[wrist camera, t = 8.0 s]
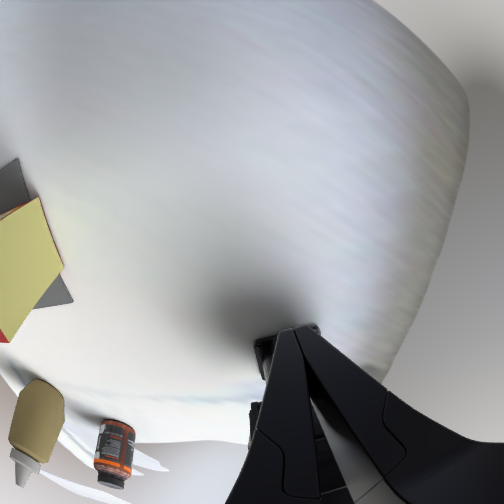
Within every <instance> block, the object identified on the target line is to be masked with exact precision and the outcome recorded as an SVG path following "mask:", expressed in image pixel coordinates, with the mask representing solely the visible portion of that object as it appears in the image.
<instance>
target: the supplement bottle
mask: <svg viewBox="0 0 504 504" xmlns="http://www.w3.org/2000/svg"><path fill="white" fill-rule="evenodd" d="M134 443H135V431H134V430H133V429H132V428H131V427H129V426H127V425H125V424H123V423H121V422H117V421H111V420H106V421H103V422H102V423H101V426H100V431H99V436H98V441H97V447H96V452H95V457H94V468H95V469H96V470H97V471H98V473H99V475H98V482H99V483H100V484H102V485H105V486H108V487H111V488H115V489H124V481H125V480H126V479H128V478H130V476H131V471H132V461H133V452H134Z"/></svg>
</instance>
